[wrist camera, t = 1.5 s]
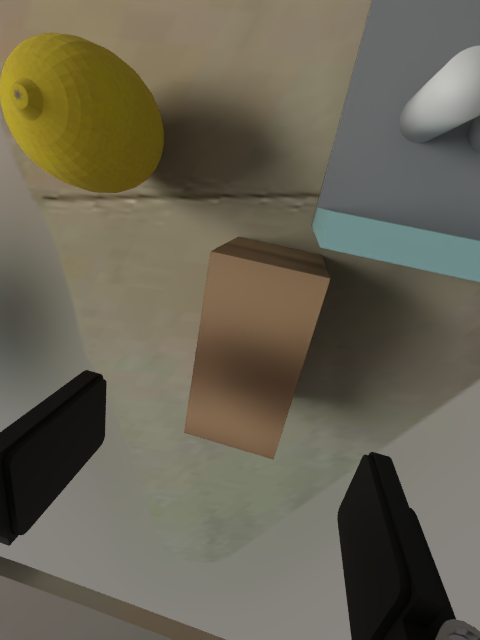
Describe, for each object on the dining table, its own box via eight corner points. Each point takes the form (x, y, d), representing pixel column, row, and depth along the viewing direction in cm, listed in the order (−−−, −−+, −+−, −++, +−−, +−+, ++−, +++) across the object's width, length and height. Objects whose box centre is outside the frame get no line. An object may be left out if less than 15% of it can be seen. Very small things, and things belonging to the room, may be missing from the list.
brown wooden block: (238, 236, 18) (210, 251, 12) (321, 254, 17) (330, 278, 12) (213, 375, 22) (184, 432, 16) (280, 393, 21) (273, 459, 16)
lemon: (206, 143, 16) (128, 94, 9) (144, 215, 18) (40, 222, 11) (134, 55, 15) (-16, -78, 8) (78, 140, 18) (-82, 95, 10)
